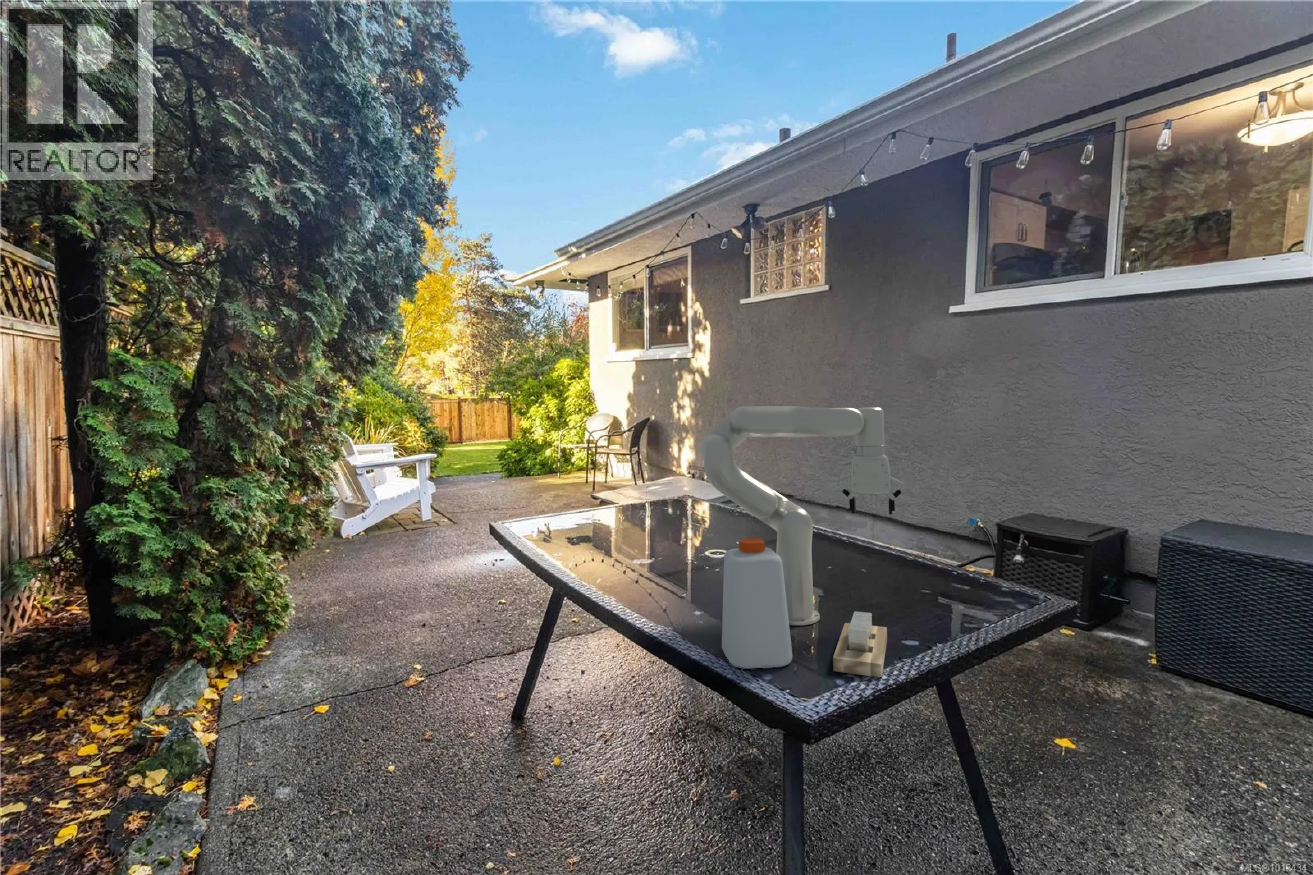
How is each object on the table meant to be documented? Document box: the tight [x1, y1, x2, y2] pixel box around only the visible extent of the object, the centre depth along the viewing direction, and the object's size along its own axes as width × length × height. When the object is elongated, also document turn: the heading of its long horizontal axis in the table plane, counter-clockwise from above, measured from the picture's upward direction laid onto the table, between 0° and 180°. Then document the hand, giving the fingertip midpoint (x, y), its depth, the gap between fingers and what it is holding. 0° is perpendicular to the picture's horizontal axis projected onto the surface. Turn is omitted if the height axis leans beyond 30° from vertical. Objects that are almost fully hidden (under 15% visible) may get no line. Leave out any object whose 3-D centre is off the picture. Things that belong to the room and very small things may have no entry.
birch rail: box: [832, 622, 888, 678], centre depth 136 cm, size 10×22×3 cm, turn 155°
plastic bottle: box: [721, 537, 793, 669], centre depth 137 cm, size 15×15×28 cm
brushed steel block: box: [848, 611, 873, 653], centre depth 136 cm, size 4×12×8 cm, turn 155°
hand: (872, 513), depth 161 cm, fingers open, 9 cm apart
